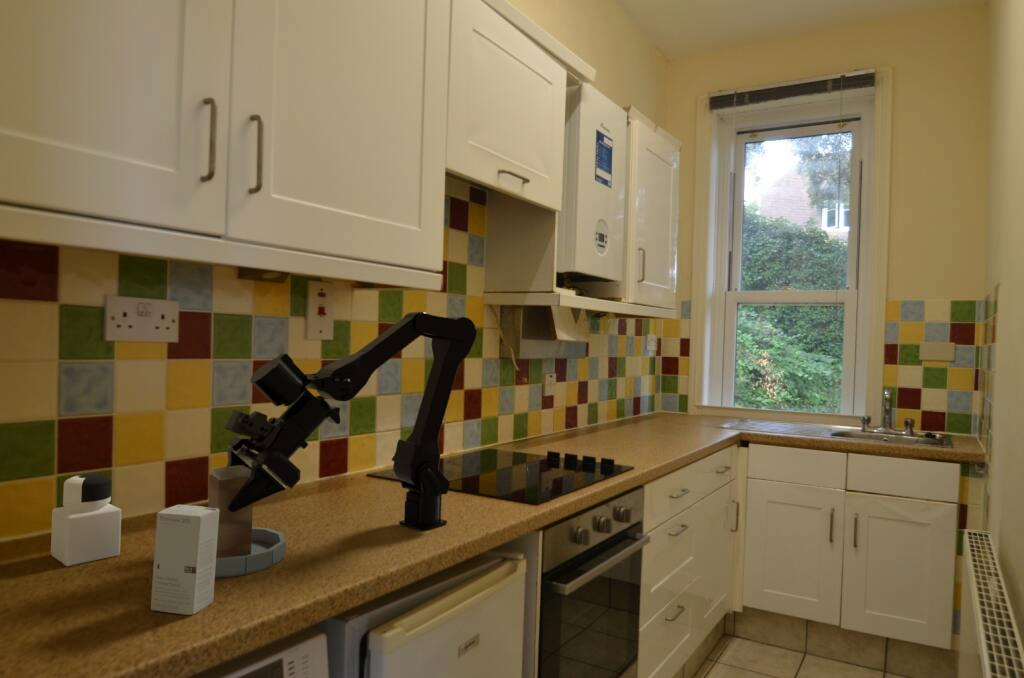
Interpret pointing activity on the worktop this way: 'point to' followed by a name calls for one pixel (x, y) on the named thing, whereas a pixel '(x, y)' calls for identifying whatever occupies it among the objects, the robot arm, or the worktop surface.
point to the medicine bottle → (86, 521)
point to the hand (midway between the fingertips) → (220, 503)
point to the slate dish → (254, 554)
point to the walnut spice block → (231, 524)
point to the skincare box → (184, 559)
